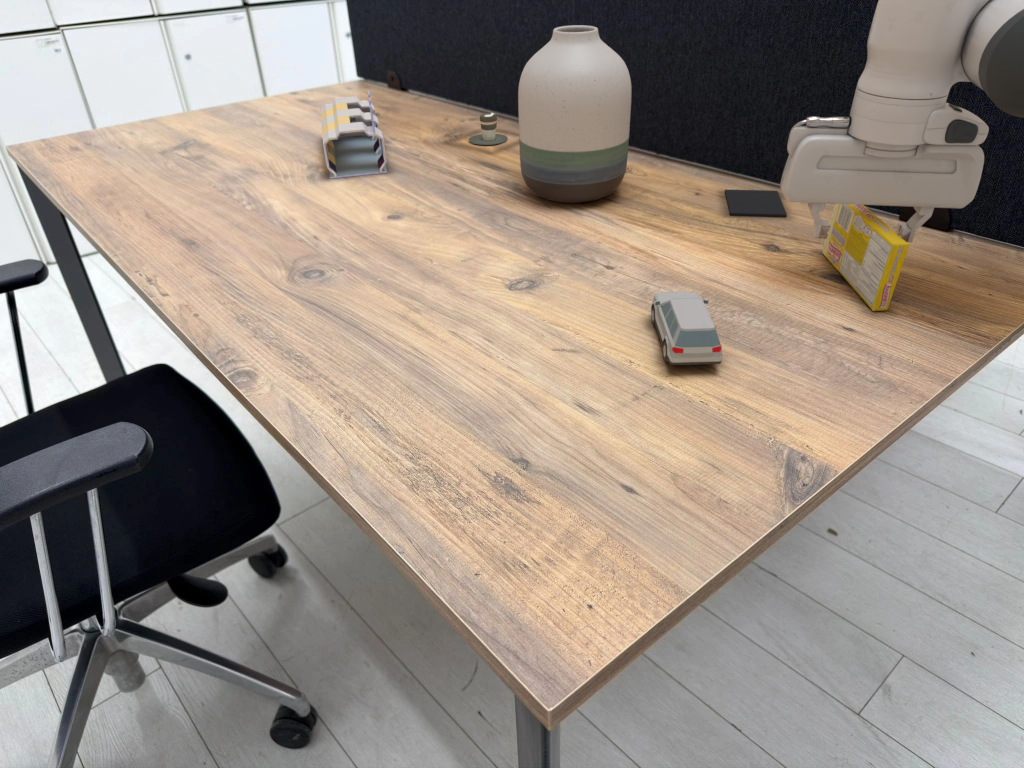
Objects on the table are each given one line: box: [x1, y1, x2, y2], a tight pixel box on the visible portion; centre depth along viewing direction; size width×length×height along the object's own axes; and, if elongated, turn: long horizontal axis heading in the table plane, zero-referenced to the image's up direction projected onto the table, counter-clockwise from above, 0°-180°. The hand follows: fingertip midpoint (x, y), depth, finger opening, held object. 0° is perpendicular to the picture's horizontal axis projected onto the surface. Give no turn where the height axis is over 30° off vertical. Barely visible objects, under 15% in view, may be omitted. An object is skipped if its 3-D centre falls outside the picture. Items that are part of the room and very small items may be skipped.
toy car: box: [650, 291, 723, 366], centre depth 76 cm, size 6×13×5 cm, turn 0°
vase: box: [517, 24, 632, 204], centre depth 110 cm, size 17×17×24 cm
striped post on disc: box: [468, 112, 509, 146], centre depth 141 cm, size 12×12×5 cm
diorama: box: [320, 90, 388, 179], centre depth 133 cm, size 25×10×13 cm, turn 13°
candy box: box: [821, 204, 910, 312], centre depth 86 cm, size 16×2×8 cm, turn 0°
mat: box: [724, 189, 788, 218], centre depth 110 cm, size 8×10×1 cm
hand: (860, 238), depth 85 cm, fingers open, 8 cm apart
